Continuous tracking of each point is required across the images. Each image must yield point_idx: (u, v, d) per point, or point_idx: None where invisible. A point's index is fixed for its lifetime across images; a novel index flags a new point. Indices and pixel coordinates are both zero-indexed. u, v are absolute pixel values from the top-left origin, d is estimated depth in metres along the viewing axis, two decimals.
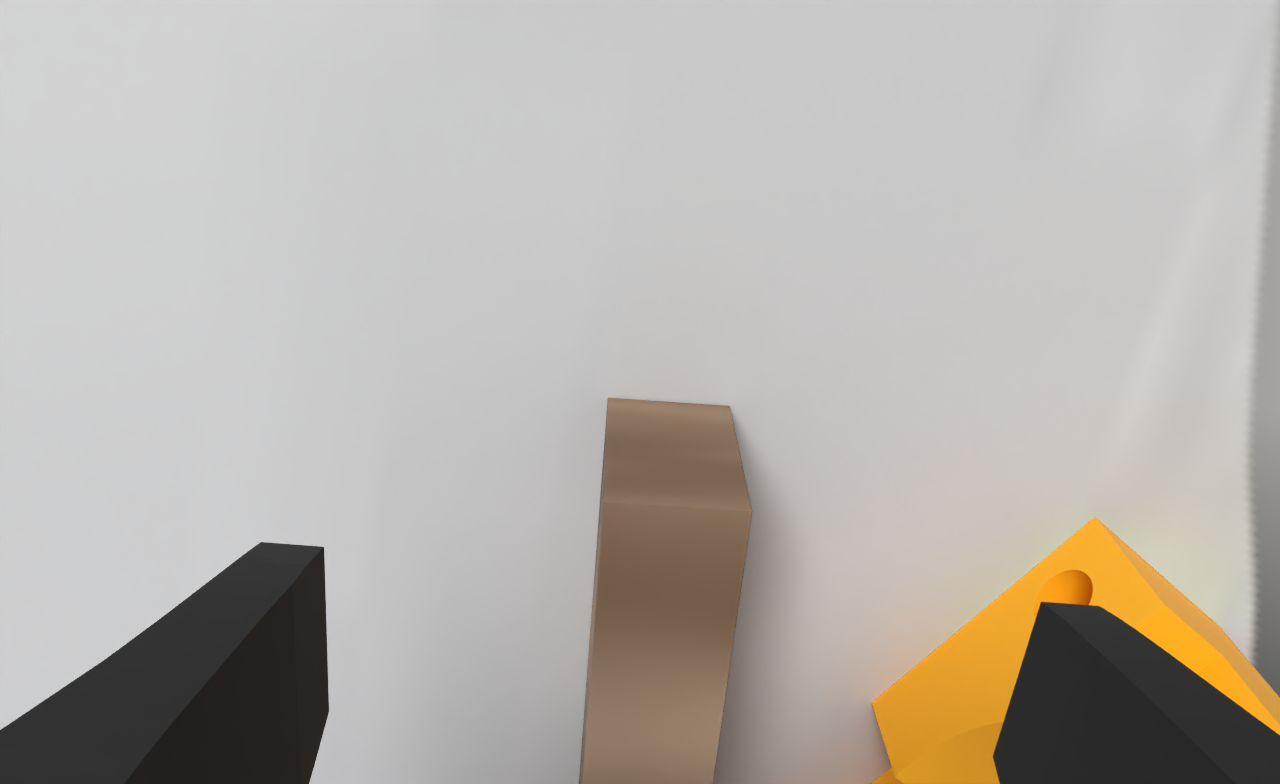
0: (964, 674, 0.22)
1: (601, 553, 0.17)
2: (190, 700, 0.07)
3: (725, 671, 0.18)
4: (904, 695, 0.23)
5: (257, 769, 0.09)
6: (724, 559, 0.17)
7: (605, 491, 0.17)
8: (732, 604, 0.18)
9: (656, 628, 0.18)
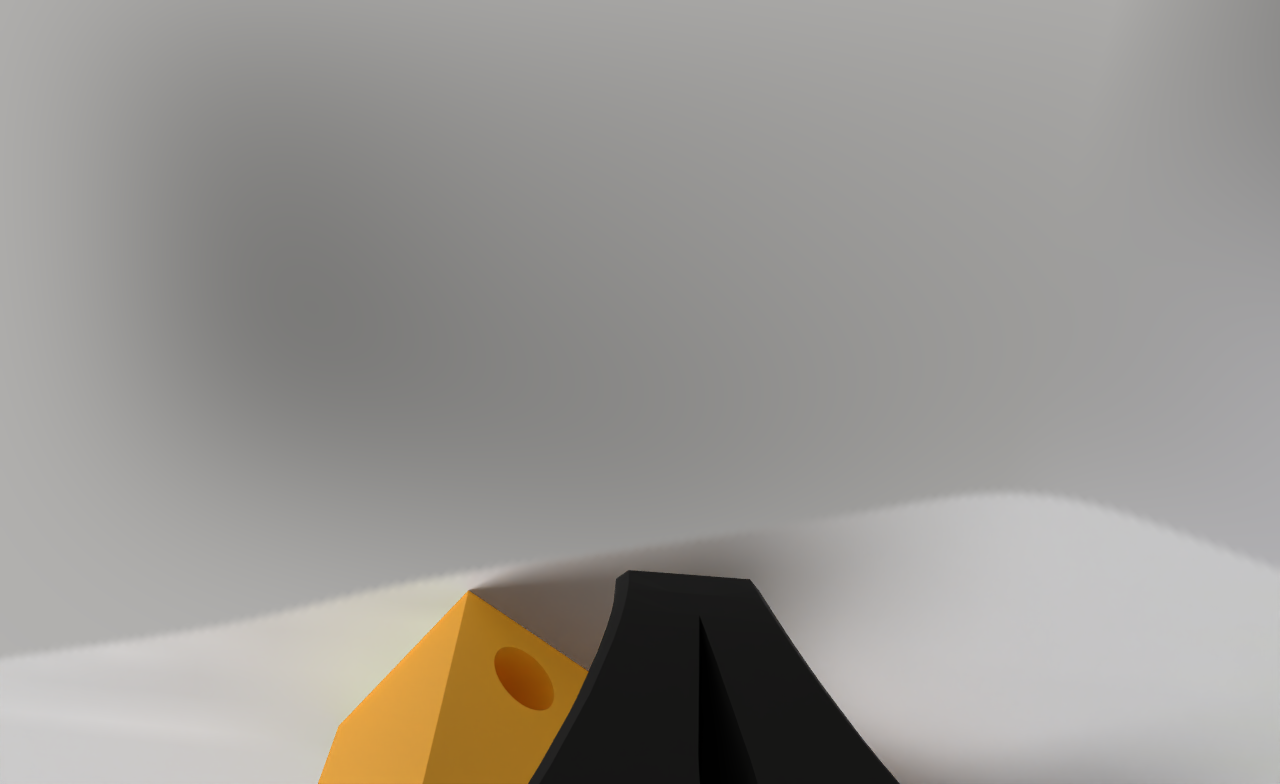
0: None
1: None
2: (694, 734, 0.07)
3: None
4: None
5: None
6: None
7: None
8: None
9: None
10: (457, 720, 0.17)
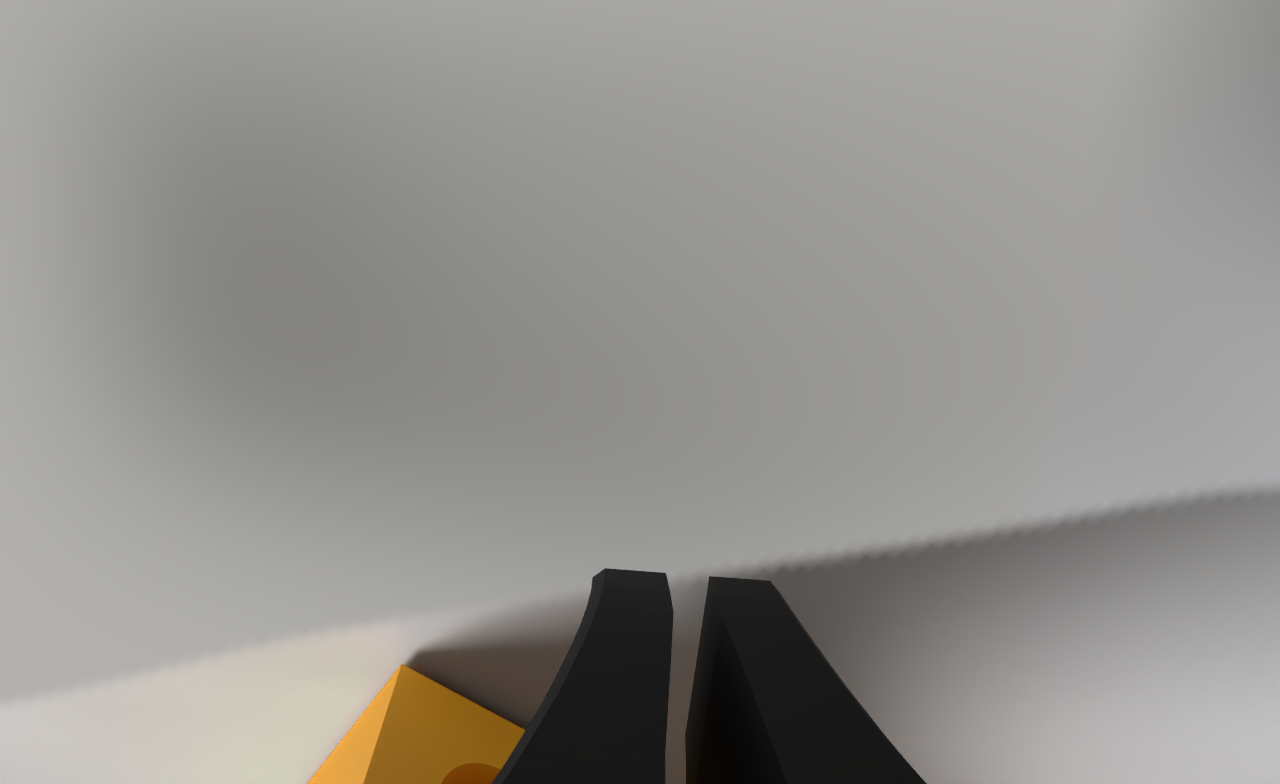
0: None
1: None
2: (662, 732, 0.07)
3: None
4: None
5: None
6: None
7: None
8: None
9: None
10: None
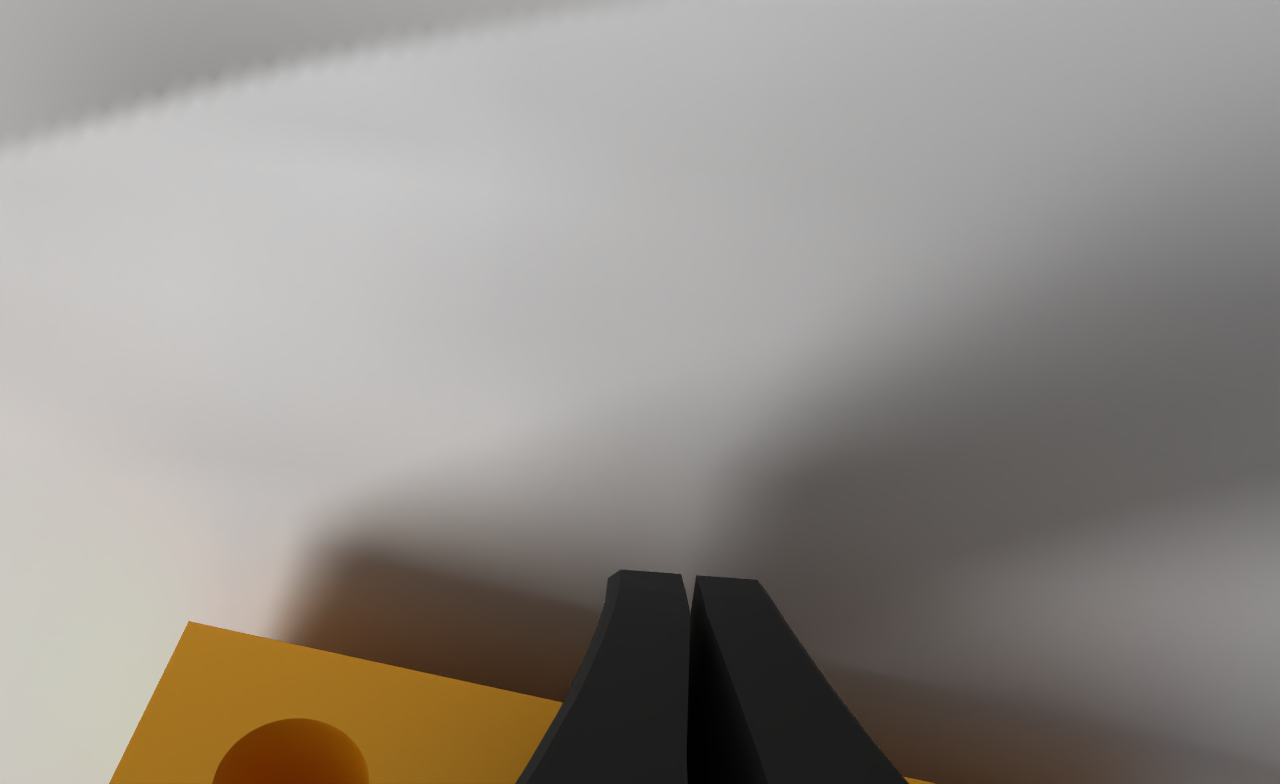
0: None
1: None
2: (683, 733, 0.07)
3: None
4: None
5: None
6: None
7: None
8: None
9: None
10: None
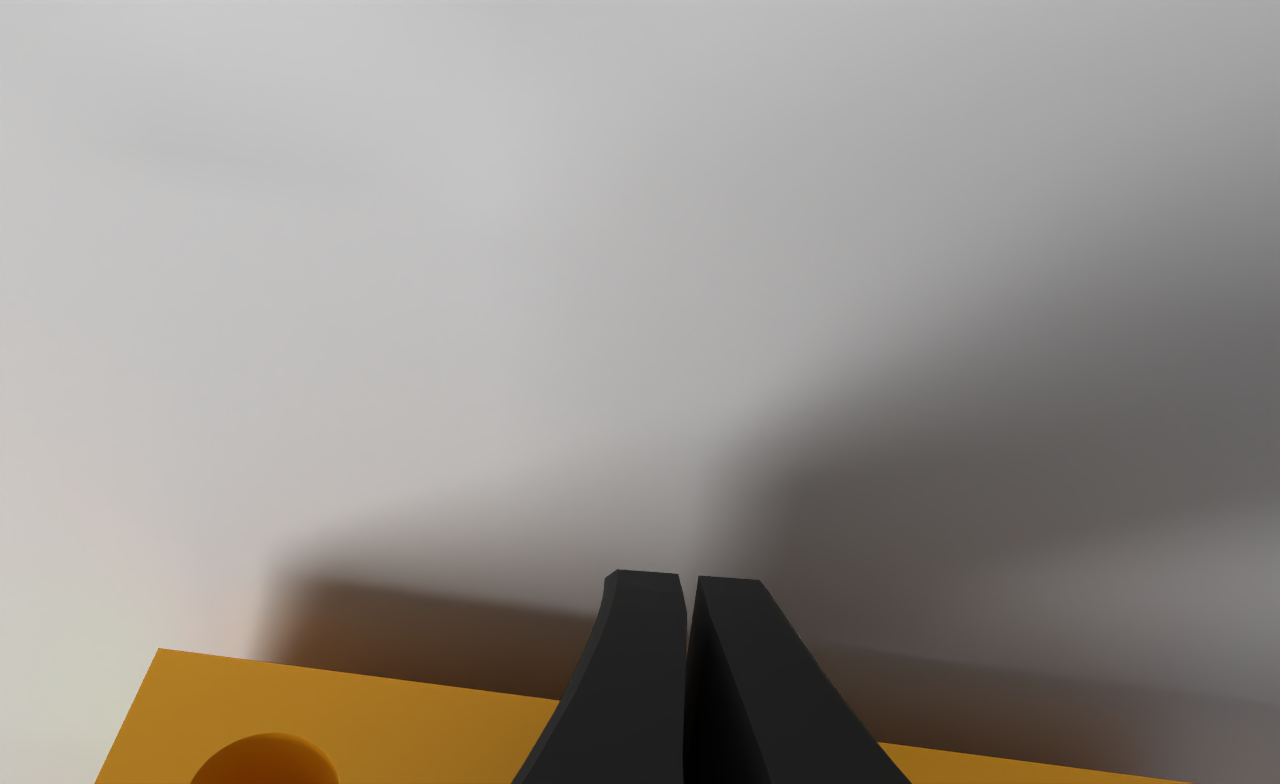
0: None
1: None
2: (679, 733, 0.07)
3: None
4: None
5: None
6: None
7: None
8: None
9: None
10: None
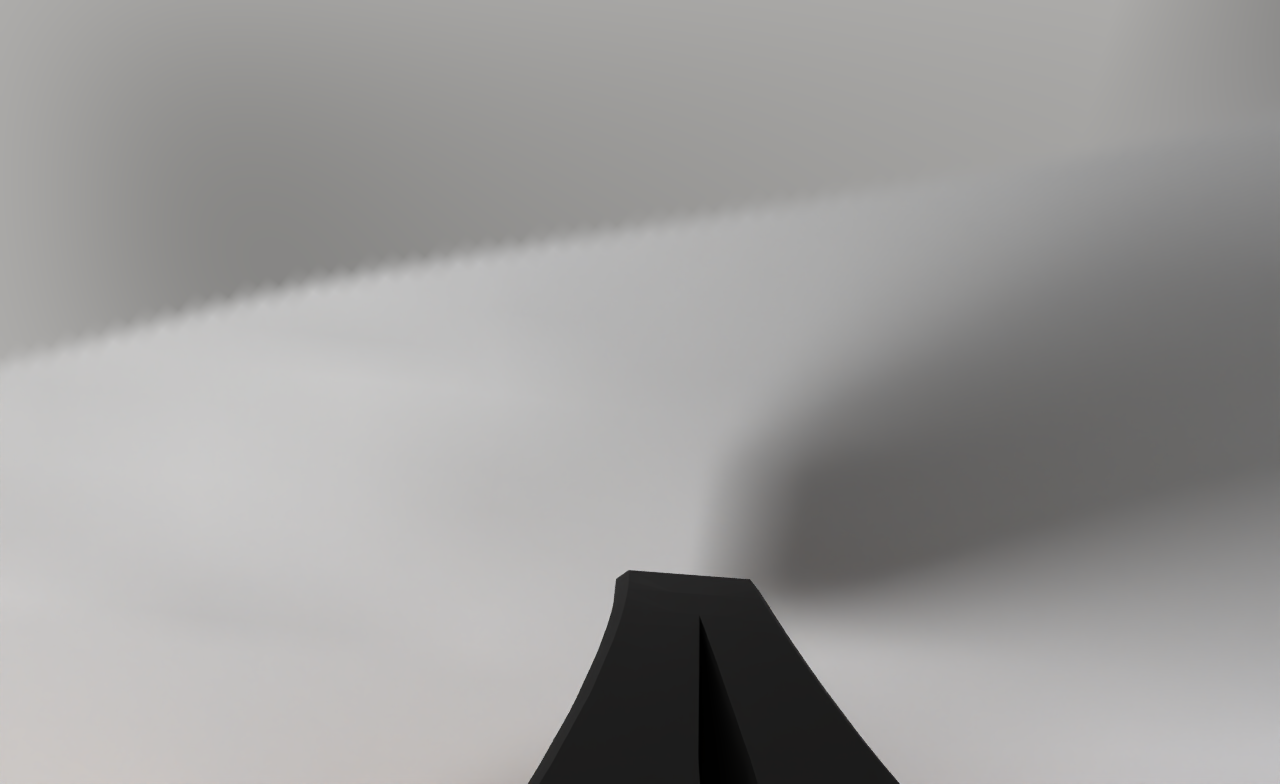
0: None
1: None
2: (695, 734, 0.07)
3: None
4: None
5: None
6: None
7: None
8: None
9: None
10: None
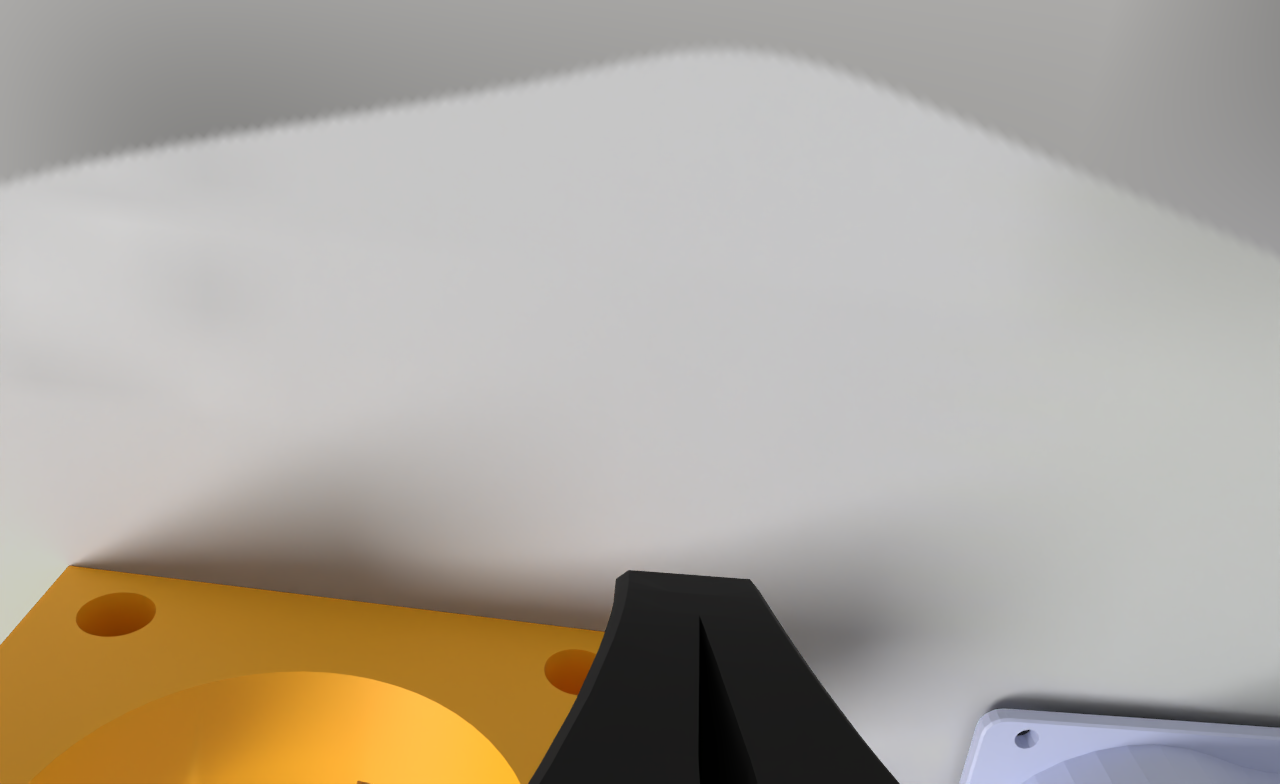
0: None
1: None
2: (694, 734, 0.07)
3: None
4: None
5: None
6: None
7: None
8: None
9: None
10: None
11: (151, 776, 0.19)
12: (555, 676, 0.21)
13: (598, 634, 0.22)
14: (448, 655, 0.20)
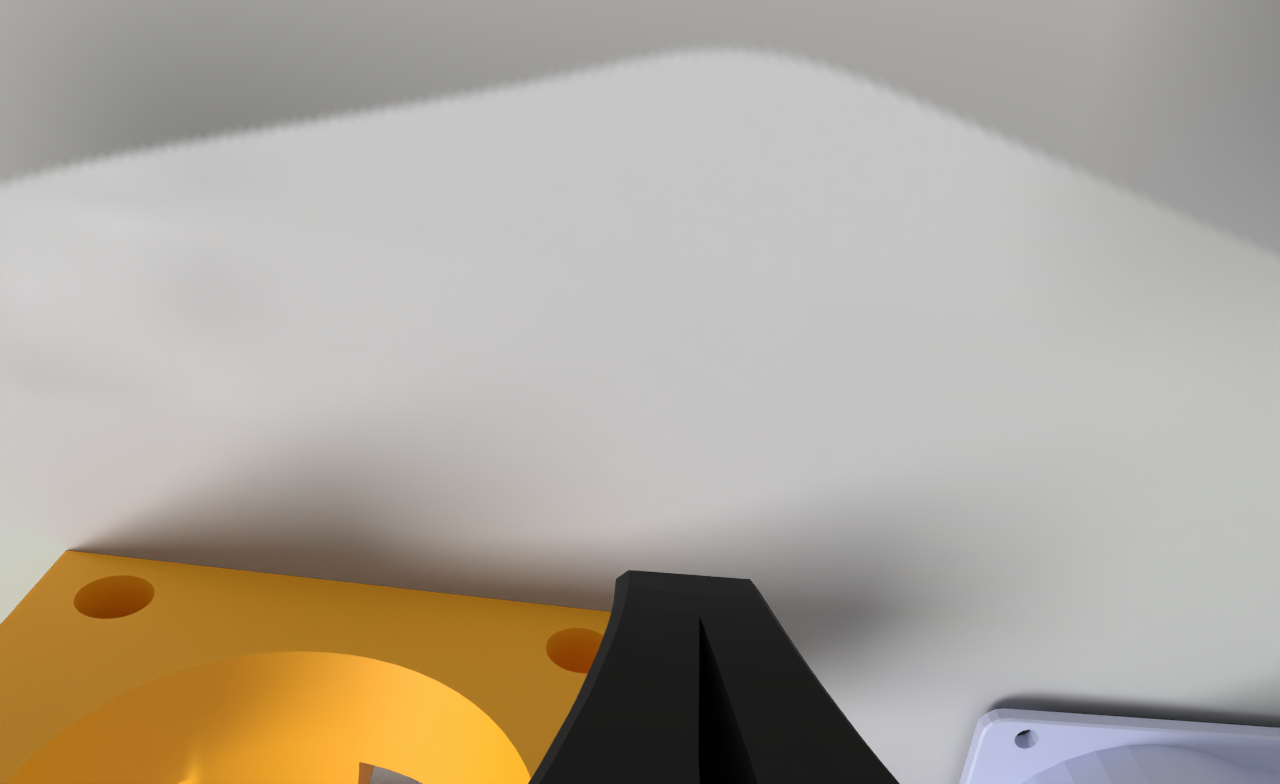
0: None
1: None
2: (694, 734, 0.07)
3: None
4: None
5: None
6: None
7: None
8: None
9: None
10: None
11: (150, 757, 0.19)
12: (557, 655, 0.21)
13: (600, 613, 0.22)
14: (449, 634, 0.20)
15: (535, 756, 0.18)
